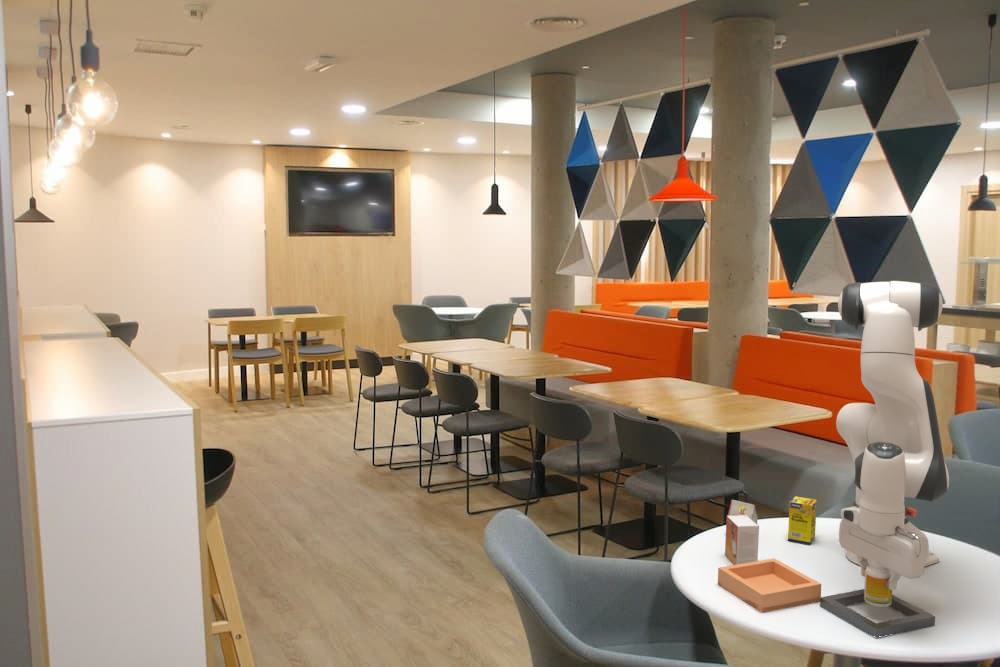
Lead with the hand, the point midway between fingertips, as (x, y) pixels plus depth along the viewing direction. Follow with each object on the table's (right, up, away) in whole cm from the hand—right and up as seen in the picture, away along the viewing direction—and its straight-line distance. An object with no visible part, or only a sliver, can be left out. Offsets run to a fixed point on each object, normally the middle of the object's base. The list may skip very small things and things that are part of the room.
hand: (878, 582), depth 181 cm
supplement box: (0, -2, +45) cm, 45 cm away
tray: (-20, -6, +12) cm, 24 cm away
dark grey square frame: (0, -7, +1) cm, 7 cm away
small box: (-21, -4, +31) cm, 38 cm away
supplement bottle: (0, -5, +1) cm, 5 cm away
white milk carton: (-16, -2, +47) cm, 50 cm away
